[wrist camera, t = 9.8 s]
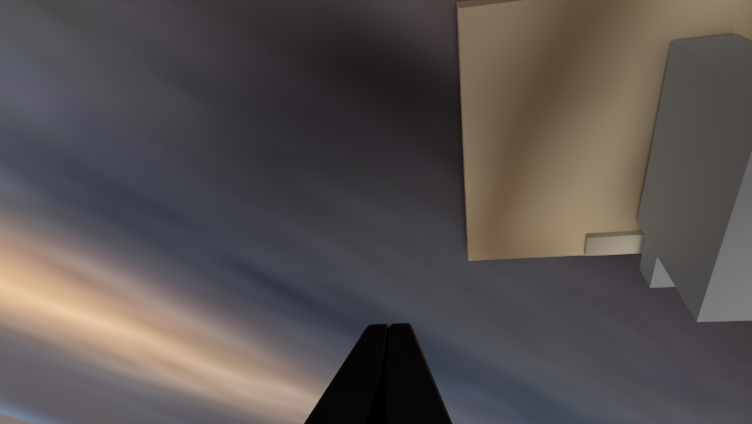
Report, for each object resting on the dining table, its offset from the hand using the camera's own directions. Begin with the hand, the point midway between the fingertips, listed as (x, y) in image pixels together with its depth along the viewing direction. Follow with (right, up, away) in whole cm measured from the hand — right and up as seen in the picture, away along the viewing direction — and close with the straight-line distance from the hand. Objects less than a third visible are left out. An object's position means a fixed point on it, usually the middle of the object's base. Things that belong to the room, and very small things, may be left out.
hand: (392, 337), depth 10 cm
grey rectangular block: (+14, +5, +9) cm, 17 cm away
